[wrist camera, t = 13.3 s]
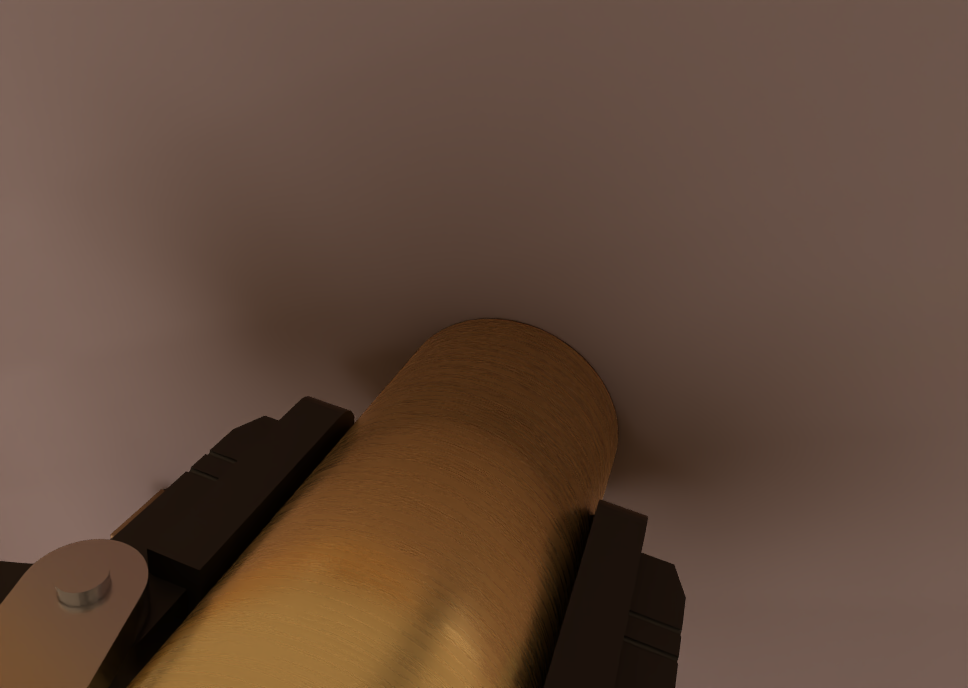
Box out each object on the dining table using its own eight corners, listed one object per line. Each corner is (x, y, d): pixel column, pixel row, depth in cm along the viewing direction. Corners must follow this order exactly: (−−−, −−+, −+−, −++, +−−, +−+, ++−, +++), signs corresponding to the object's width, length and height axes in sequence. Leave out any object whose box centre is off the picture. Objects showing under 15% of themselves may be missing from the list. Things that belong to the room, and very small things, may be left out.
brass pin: (432, 281, 12) (-93, 806, 5) (657, 380, 12) (471, 1142, 4) (381, 454, 14) (-37, 1005, 7) (569, 544, 14) (342, 1246, 6)
